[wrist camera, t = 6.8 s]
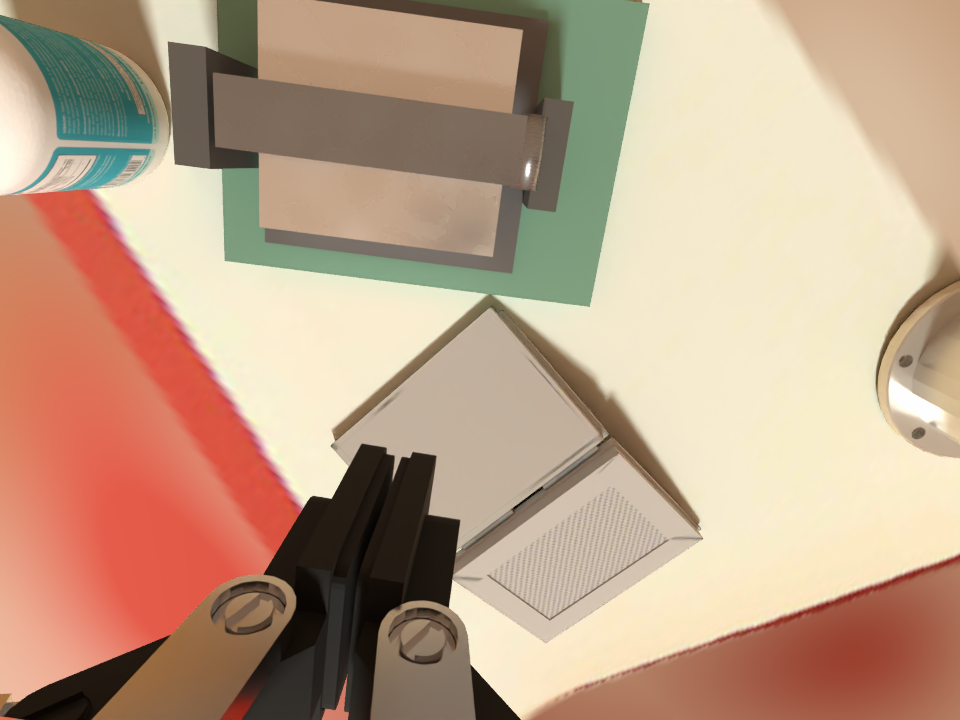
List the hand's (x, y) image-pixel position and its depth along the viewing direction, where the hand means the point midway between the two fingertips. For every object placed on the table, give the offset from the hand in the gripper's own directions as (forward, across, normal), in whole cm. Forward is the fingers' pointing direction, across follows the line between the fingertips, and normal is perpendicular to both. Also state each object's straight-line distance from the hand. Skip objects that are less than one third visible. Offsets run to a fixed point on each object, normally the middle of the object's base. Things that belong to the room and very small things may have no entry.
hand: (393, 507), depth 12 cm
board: (+24, +4, -8) cm, 25 cm away
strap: (+18, +5, -8) cm, 21 cm away
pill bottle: (+23, +22, -6) cm, 32 cm away
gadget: (+25, -6, +14) cm, 29 cm away
